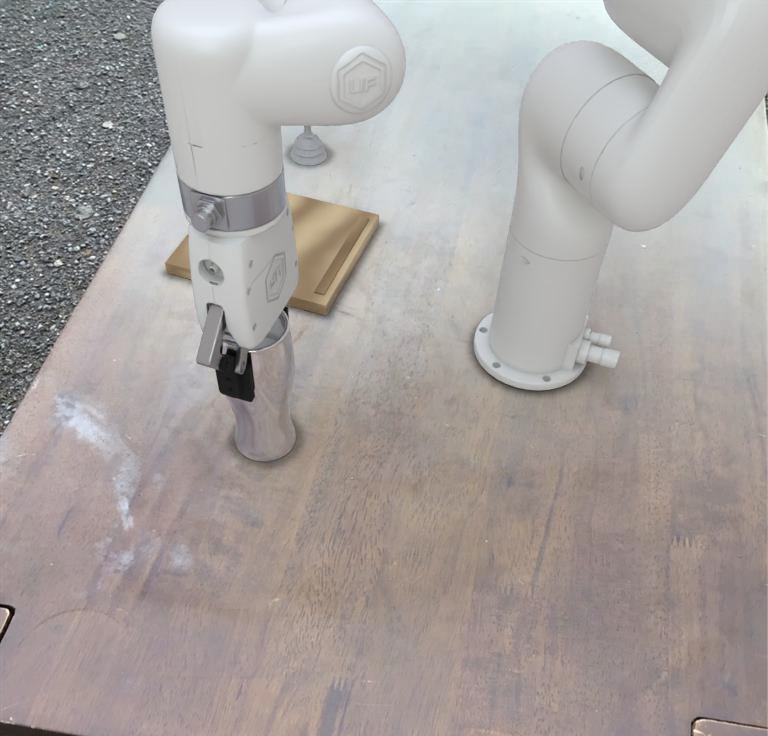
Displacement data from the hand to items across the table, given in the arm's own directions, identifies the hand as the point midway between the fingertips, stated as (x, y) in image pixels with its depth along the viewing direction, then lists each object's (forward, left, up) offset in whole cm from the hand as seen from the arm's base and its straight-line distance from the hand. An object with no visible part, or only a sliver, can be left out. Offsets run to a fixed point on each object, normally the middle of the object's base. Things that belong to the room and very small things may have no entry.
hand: (255, 365), depth 73 cm
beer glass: (0, 0, -10) cm, 10 cm away
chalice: (+15, -48, -10) cm, 51 cm away
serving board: (+11, -28, -10) cm, 32 cm away
